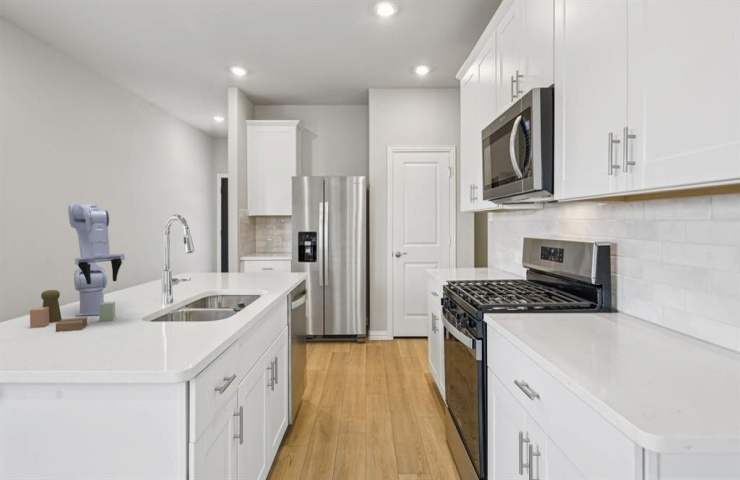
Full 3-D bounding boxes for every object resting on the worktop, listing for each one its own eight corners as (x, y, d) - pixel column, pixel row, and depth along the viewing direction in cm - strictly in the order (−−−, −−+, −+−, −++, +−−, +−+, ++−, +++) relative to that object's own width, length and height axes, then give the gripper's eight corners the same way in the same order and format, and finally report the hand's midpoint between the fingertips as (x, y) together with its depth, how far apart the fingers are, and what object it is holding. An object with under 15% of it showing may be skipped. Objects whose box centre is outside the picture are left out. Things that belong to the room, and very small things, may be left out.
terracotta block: (35, 325, 139) (34, 307, 139) (49, 324, 141) (48, 307, 140) (30, 328, 136) (29, 310, 135) (45, 327, 137) (44, 309, 137)
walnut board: (62, 327, 138) (62, 318, 137) (87, 325, 140) (87, 317, 140) (55, 333, 131) (55, 323, 131) (81, 331, 134) (81, 321, 133)
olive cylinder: (52, 323, 142) (52, 291, 141) (35, 323, 142) (34, 291, 142) (66, 319, 148) (65, 289, 148) (49, 319, 148) (48, 288, 148)
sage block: (102, 318, 149) (102, 302, 149) (115, 318, 150) (114, 301, 150) (99, 321, 145) (99, 304, 145) (112, 320, 147) (112, 303, 146)
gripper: (70, 244, 137) (73, 284, 135) (120, 239, 142) (123, 278, 140) (77, 247, 144) (80, 286, 142) (124, 243, 149) (127, 280, 147)
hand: (102, 282), depth 142 cm, fingers open, 7 cm apart
